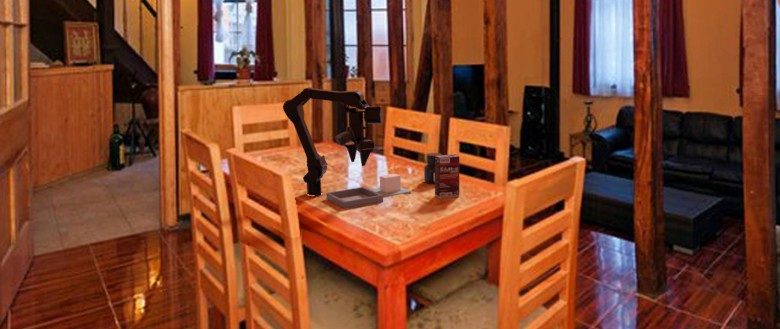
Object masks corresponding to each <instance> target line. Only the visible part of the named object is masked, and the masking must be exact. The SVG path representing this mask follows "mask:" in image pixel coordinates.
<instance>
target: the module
mask: <svg viewBox="0 0 780 329" xmlns="http://www.w3.org/2000/svg"><path fill="white" fill-rule="evenodd" d="M401 184H402V183H401V175H400V174H398V173H389V174H382V175H379V188H380V191H382V192H385V193H388V192H393V191H399V190H401V187H402V186H401Z"/></svg>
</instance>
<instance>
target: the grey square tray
mask: <svg viewBox="0 0 780 329" xmlns="http://www.w3.org/2000/svg"><path fill="white" fill-rule="evenodd" d="M325 196H326V200H327V199H328V200H327V201H329V200H330V201H329V202H331V203H332V202H333V204H334V203H335V204H334V205H336V206H338V207H340V208H341V209H344V210H347V209H352V208H358V207H363V206H368V205H375V204H380V203H383V202H384V196H383V195H381V194H379V193H376V192H374V191H372V190H371V189H370V188H367V187H365V186H361V187H354V188H348V189H343V190H341V189H340V190H337V191H336V190H335V191H330V192H326V193H325Z"/></svg>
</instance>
